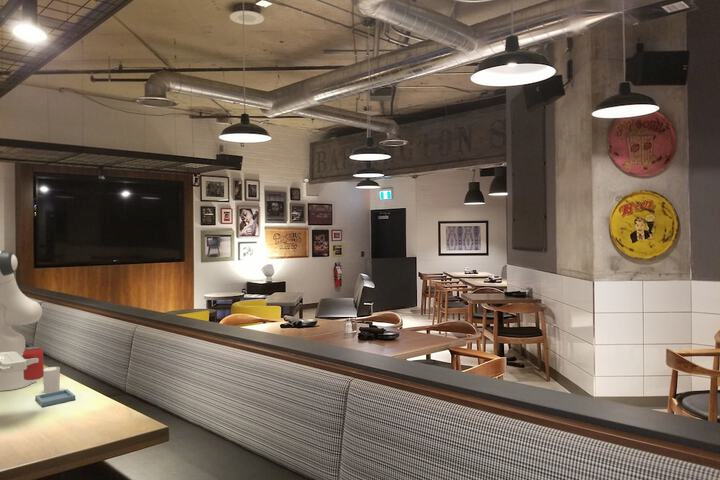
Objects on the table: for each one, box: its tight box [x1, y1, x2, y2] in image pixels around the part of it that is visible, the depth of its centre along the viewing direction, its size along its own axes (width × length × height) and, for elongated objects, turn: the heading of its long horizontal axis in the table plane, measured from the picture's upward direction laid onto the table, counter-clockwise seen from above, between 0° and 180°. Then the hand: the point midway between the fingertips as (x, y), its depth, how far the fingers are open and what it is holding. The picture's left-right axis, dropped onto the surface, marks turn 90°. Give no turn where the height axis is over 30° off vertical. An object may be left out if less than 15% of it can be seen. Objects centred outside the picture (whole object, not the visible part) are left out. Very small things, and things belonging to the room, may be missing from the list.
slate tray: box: [34, 388, 76, 408], centre depth 216 cm, size 12×12×2 cm
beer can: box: [23, 345, 44, 381], centre depth 200 cm, size 7×7×12 cm
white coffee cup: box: [42, 366, 61, 394], centre depth 228 cm, size 7×7×10 cm
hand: (35, 357), depth 200 cm, fingers closed on beer can, 7 cm apart
